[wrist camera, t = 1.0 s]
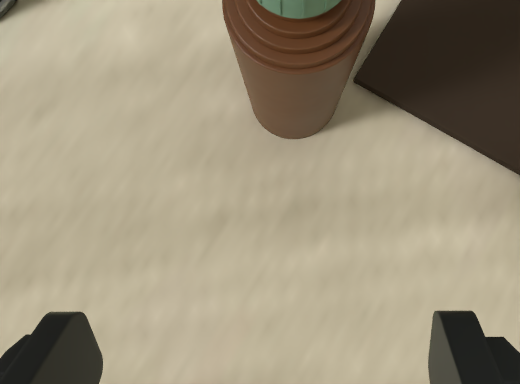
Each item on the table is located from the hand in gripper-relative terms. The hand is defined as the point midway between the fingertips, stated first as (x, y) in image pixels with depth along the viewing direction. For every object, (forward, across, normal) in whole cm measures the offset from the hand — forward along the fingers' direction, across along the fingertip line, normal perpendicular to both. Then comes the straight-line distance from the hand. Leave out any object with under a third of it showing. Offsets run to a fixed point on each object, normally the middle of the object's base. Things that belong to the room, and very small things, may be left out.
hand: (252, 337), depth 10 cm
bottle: (+24, 0, +2) cm, 24 cm away
